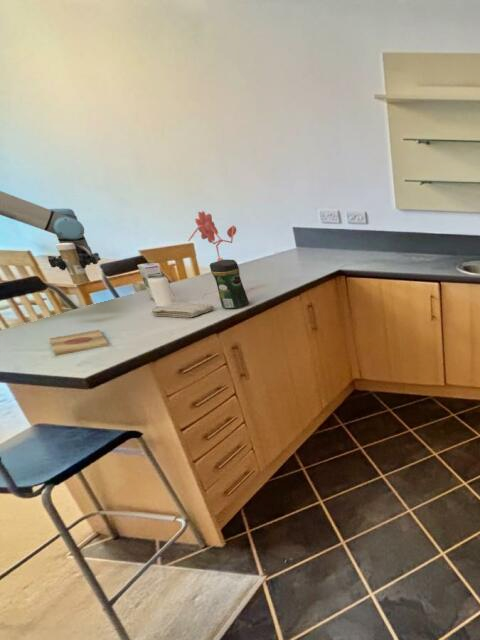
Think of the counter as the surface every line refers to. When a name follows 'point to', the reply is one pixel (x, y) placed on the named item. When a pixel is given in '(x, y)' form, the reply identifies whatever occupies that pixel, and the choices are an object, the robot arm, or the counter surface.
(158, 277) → the can
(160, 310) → the washcloth
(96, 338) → the mat
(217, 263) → the coffee jar
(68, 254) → the sprinkles bottle
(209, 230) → the red flower
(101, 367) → the counter surface
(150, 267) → the syrup box
